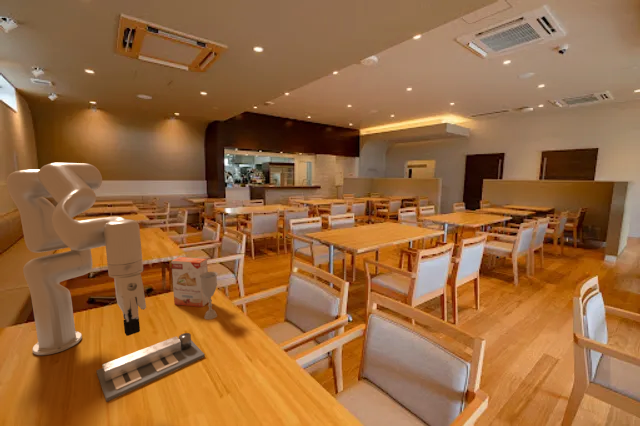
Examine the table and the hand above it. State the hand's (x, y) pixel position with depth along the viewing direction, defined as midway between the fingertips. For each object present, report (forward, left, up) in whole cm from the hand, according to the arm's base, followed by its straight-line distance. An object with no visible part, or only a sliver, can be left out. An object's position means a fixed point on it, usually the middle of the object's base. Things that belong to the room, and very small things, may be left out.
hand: (132, 332), depth 77 cm
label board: (-8, +6, -17) cm, 19 cm away
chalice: (-24, +32, -17) cm, 43 cm away
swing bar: (-8, +6, -15) cm, 18 cm away
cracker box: (-41, +31, -17) cm, 54 cm away
